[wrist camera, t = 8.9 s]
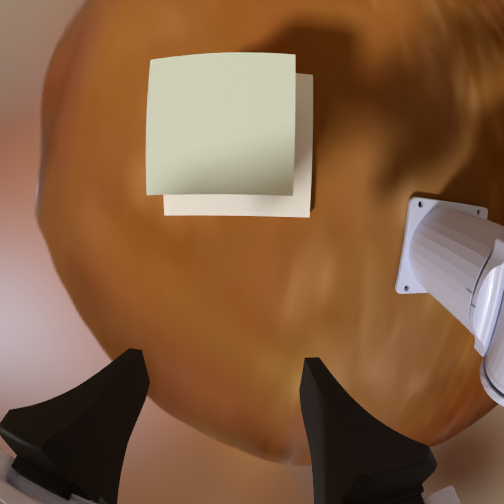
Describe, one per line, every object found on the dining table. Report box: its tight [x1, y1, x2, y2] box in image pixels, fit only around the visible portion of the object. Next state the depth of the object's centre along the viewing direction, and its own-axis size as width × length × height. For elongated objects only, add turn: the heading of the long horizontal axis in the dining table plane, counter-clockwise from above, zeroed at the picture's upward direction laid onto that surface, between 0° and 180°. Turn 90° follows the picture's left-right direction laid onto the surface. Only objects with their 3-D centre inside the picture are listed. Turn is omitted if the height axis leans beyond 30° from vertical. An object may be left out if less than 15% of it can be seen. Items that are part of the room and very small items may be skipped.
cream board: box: [164, 73, 313, 217], centre depth 18 cm, size 10×10×1 cm
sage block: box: [146, 52, 295, 196], centre depth 11 cm, size 5×5×4 cm
